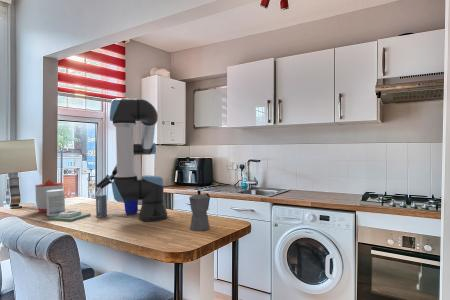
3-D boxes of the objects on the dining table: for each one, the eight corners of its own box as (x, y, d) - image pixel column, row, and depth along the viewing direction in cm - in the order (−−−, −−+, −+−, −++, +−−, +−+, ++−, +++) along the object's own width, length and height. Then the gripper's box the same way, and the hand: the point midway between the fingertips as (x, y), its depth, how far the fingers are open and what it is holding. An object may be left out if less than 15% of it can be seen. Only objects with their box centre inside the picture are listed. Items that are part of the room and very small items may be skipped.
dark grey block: (107, 215, 175) (106, 194, 175) (101, 217, 171) (101, 195, 171) (101, 215, 176) (100, 194, 176) (96, 216, 172) (95, 195, 172)
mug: (140, 215, 173) (140, 197, 173) (121, 214, 176) (120, 197, 176) (147, 212, 181) (146, 195, 181) (128, 211, 184) (128, 195, 184)
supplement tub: (68, 213, 182) (68, 189, 182) (54, 217, 173) (53, 191, 173) (57, 212, 186) (56, 188, 186) (42, 216, 177) (42, 191, 177)
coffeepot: (200, 233, 133) (199, 192, 133) (183, 231, 137) (182, 191, 137) (218, 225, 146) (217, 188, 146) (201, 223, 151) (200, 187, 151)
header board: (90, 215, 175) (90, 210, 175) (71, 221, 162) (71, 215, 162) (69, 214, 180) (69, 209, 180) (48, 219, 167) (48, 214, 167)
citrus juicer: (62, 207, 205) (61, 177, 204) (65, 211, 190) (64, 179, 190) (35, 210, 196) (34, 179, 196) (36, 214, 181) (35, 181, 181)
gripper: (139, 173, 192) (126, 201, 178) (106, 173, 199) (91, 200, 185) (134, 166, 187) (120, 194, 172) (100, 166, 194) (84, 193, 179)
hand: (105, 197), depth 178 cm, fingers open, 13 cm apart
